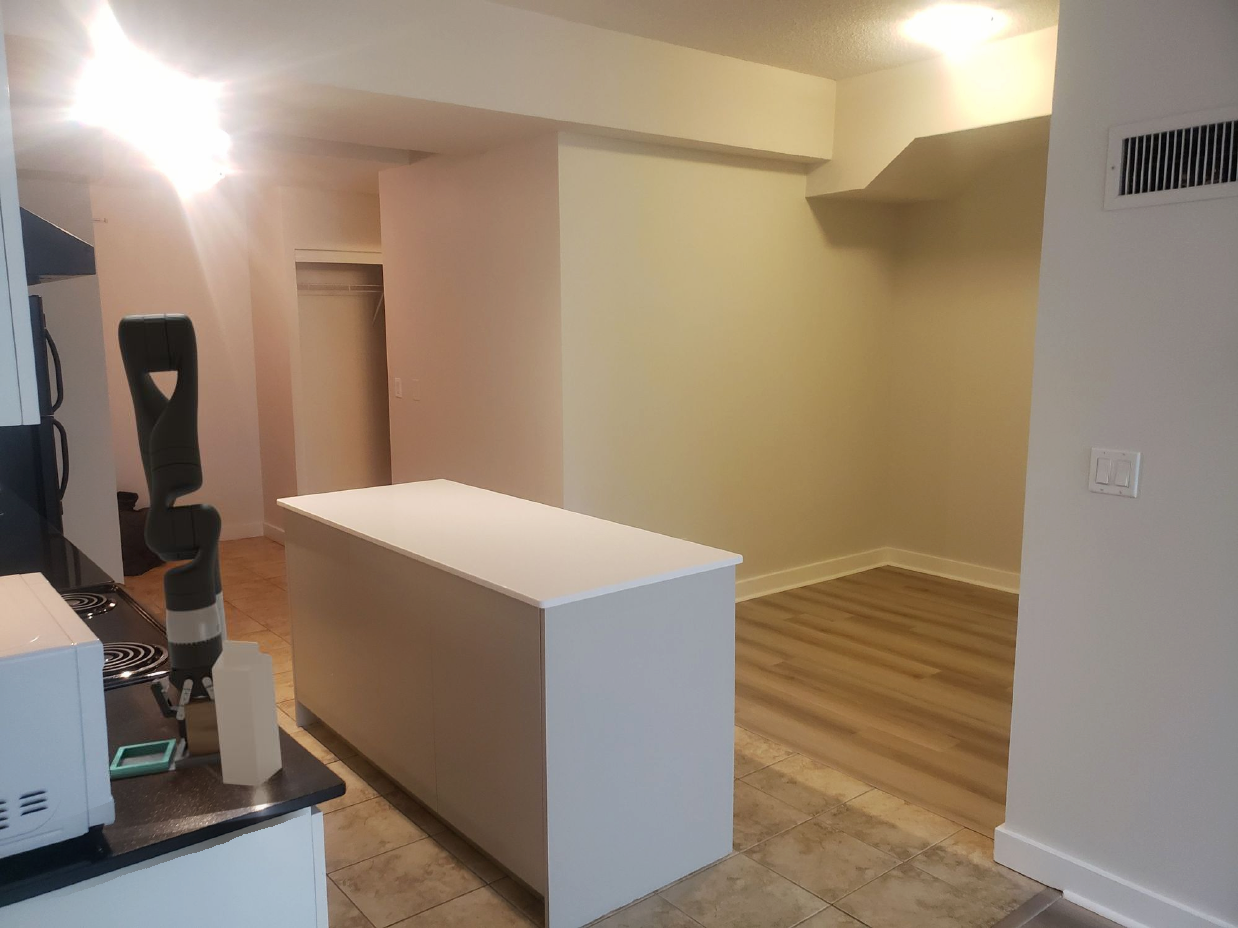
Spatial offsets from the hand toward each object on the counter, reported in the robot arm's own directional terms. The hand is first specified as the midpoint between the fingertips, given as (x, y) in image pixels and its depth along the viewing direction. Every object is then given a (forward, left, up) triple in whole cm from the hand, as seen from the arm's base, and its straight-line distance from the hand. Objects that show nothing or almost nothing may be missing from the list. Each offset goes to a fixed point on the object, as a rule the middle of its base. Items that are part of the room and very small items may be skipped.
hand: (205, 736), depth 146 cm
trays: (0, -4, -4) cm, 6 cm away
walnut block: (0, 0, -3) cm, 3 cm away
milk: (+10, +8, -4) cm, 14 cm away
